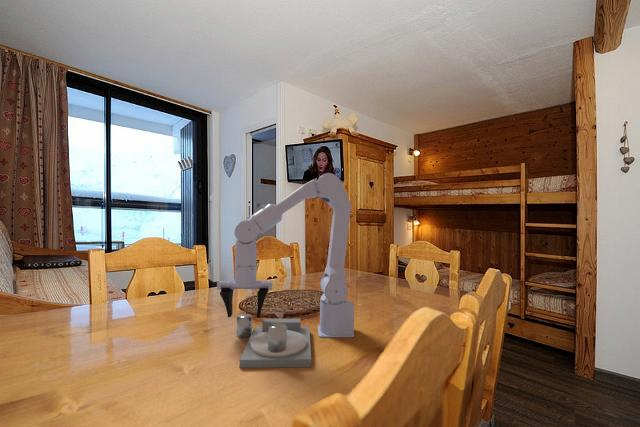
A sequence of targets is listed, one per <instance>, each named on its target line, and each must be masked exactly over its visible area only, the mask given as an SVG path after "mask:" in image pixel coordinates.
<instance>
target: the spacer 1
mask: <svg viewBox="0 0 640 427" xmlns="http://www.w3.org/2000/svg"><path fill="white" fill-rule="evenodd" d="M252 332H253V315H252V314H250V313H243V314H239V315H237V316H236V337H237V338H240V339H246V338H248V339H249V338H250V336H251V334H252Z"/></svg>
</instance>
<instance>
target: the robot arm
mask: <svg viewBox="0 0 640 427" xmlns="http://www.w3.org/2000/svg"><path fill="white" fill-rule="evenodd" d="M317 197H318V198H319V199H321V200H323V202H326V204H327V205H328V206H329V207H330V208H331V209H332V217H331V218H332V219H331V227H330V235H329V244H328V245H329V246H328V252H327V253H328V254H327V261H326V266H325V269H324V273H323V276H322V277H321V279H320V282H319V287H320V290H321V292H322V295H321V296H320V298H319V324H318V325H317V332H318V337H319V338H355V334H354V333H355V307H354V302H353V300H350V299H349V300H347V299H346V298H347V296H348V293H349V291H348V286H347V283H346V279H347V278H346V277H347V276H346V275H347V274H346V271H345V264H346V255H347V246H348V239H349V238H348V237H349V228H350V219H351V213H352V212H351V210H352V203H351V200H350V198H349V195H348V194H347V191H346V189H345V186H344V182H343V181H342V180H341V179H340V178H339V177H338V176H336V175H335V174H334V173H331V172H326V173H323V174H322V175H320V176H319V177H318V179H317V177H316V178H314V179H312V180H310V181H308V182H306V183H304V184H303V185H301V186H300V187H298V188H297V189H296V190H294V191H293V192H292V193H290V194H289V195H288V196H286V197H285V198H283V199H282V200H281V201H279V202H278V203H277V204H274V203H268V204H263V205H261V206H260V209H259V210H258V211H256V212H255V213H253V214H252V215H247V216H246V220H241V221H240V222H238V224H237V225H236V226H235V228H234V236H235V238H236V241H235V249H234V250H235V251H234V280H233V279H232V280H219V281H216V290H220V292H219V294H220V297H221V299H222V301H223V303H224V306H225V309H226V312H227V313H226V316H227V318H231V317H232V316H233V312H234V311H233V300H234V299H233V297H234V290H258V291H257V308H256V310H257V312H256V318H261V315H262V309H263V305H264V302H265V299H266V297H267V295H268V293H269V291H273V287H274V281H268V280H258V279H257V274H258V272H257V266H258V265H257V263H258V260H257V259H258V248H257V237H258V236H259V234H264V233H265V232H267V231H269V230H270V229H272V228H273V227H275V225H277V224H278V223H280V222H281V221H282V219H283V215H284V213H286V212H288V211H289V210H290V209H292V208H294V207H295V206H296V205H298V204H300V203H301V202H303V201H304V200H306V199H315V198H317Z"/></svg>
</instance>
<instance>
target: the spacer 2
mask: <svg viewBox="0 0 640 427" xmlns="http://www.w3.org/2000/svg"><path fill="white" fill-rule="evenodd" d="M286 332H287V325H286V324H284V323H272V324H270V325H269V326H268V351H270V352H273V353H279V352H283V351H285V350H286Z"/></svg>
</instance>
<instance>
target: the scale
mask: <svg viewBox="0 0 640 427" xmlns="http://www.w3.org/2000/svg"><path fill="white" fill-rule="evenodd" d="M272 323H284V324H286V325H287V332H286V350H285V351H283V352H279V353H273V352H270V351H268V326H269V325H270V324H272ZM261 324H262V325H261V326H254V327H253V329H252V334H251V336H250V337H248V341H247V343H246V345H245V348H244V349H243V352H242V354H241V356H240V358H239V364H238V365H239V369H245V368H246V369H247V368H249V369H250V368H251V369H252V368H253V369H255V368H260V369H261V368H311V367H312V349H311V347H312V345H311V334H310V333H311V332H310V328H311V327H310V326H301V318H263V320H262V322H261Z"/></svg>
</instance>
